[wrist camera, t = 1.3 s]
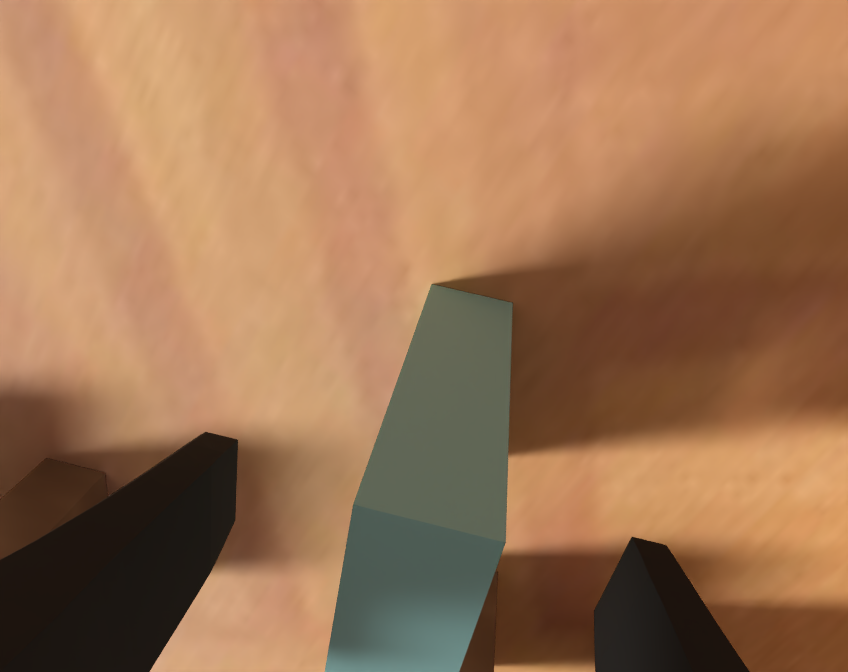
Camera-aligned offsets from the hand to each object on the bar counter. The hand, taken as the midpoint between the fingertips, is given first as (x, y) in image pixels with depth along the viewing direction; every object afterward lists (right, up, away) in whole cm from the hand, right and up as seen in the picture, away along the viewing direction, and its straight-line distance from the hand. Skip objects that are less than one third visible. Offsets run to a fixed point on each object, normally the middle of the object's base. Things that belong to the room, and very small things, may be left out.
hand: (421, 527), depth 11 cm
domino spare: (+1, +2, +5) cm, 5 cm away
